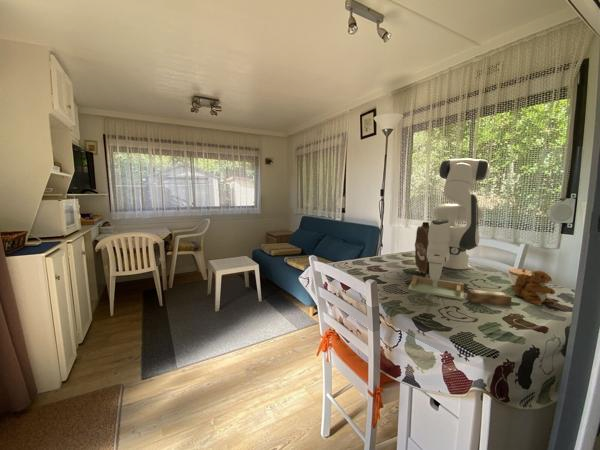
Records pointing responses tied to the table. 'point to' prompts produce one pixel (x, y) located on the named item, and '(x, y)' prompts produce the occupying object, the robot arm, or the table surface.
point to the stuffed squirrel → (533, 287)
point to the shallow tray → (442, 287)
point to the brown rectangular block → (489, 297)
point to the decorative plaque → (422, 249)
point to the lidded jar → (517, 274)
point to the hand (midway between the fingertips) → (435, 284)
